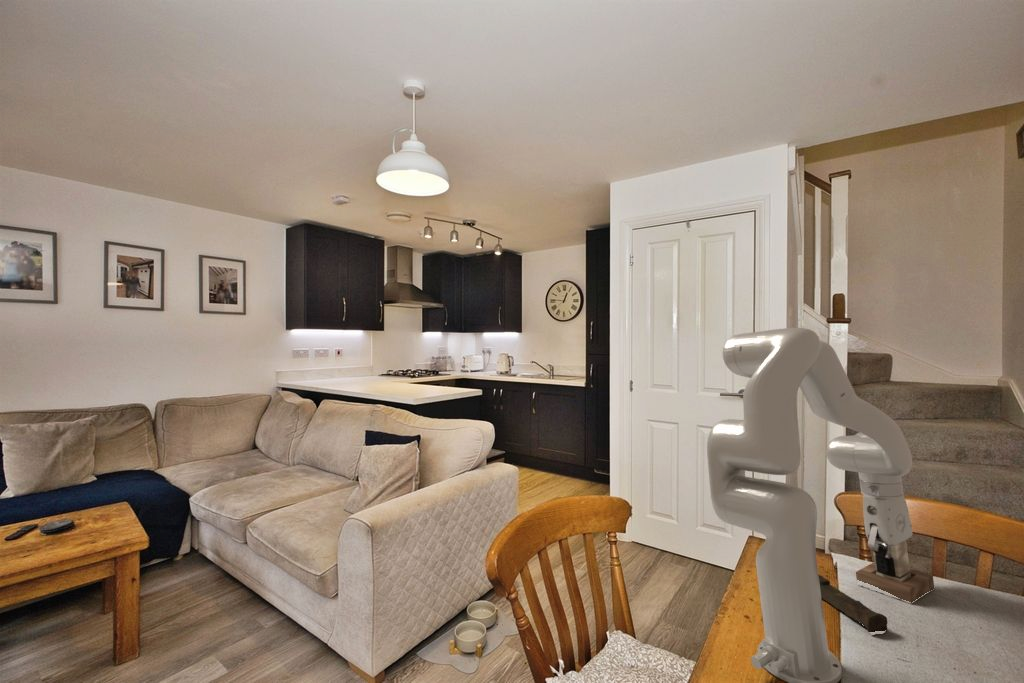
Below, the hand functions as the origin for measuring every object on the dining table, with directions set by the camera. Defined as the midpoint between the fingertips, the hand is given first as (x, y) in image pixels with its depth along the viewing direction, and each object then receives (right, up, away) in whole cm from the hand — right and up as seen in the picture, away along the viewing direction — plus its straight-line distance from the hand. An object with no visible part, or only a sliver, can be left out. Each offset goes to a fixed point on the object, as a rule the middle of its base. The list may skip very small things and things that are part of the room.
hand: (892, 569), depth 100 cm
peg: (0, -3, 0) cm, 3 cm away
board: (0, -4, 0) cm, 4 cm away
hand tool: (-16, -6, -6) cm, 18 cm away
